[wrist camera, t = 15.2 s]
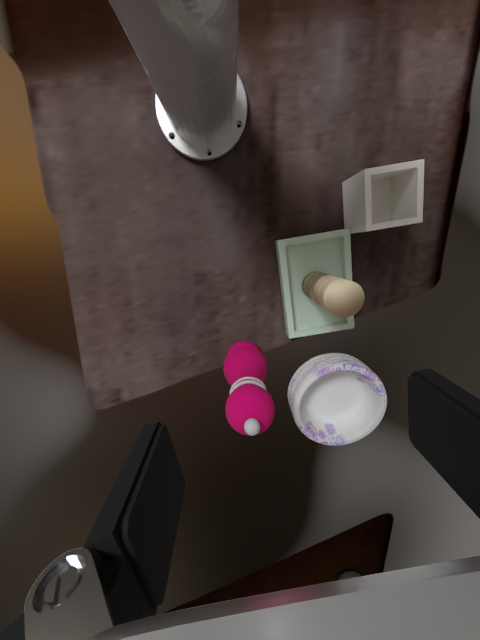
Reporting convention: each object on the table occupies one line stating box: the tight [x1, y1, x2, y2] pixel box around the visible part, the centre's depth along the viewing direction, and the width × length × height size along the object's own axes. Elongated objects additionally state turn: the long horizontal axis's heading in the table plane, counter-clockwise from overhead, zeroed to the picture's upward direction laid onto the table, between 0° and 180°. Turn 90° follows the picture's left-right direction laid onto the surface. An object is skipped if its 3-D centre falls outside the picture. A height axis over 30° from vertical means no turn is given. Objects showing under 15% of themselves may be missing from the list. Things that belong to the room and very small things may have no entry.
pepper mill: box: [224, 341, 275, 436], centre depth 37 cm, size 7×7×20 cm
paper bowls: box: [287, 353, 387, 446], centre depth 45 cm, size 15×15×8 cm
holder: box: [342, 159, 424, 234], centre depth 37 cm, size 8×8×7 cm
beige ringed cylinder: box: [302, 271, 365, 318], centre depth 37 cm, size 4×4×12 cm
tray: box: [275, 228, 354, 339], centre depth 43 cm, size 16×11×2 cm
